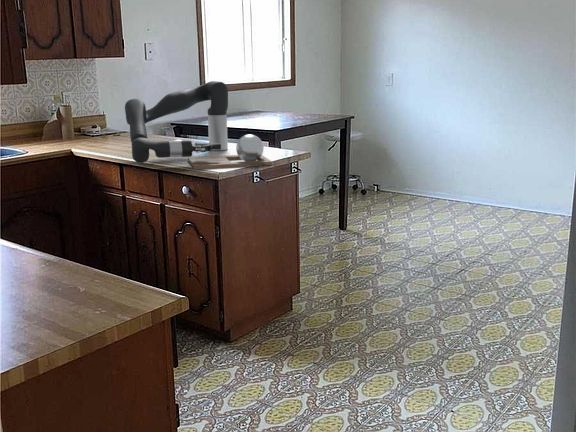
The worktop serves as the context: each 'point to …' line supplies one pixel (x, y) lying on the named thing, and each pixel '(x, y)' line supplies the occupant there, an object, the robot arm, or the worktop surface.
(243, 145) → the ball
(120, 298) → the worktop surface
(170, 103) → the robot arm
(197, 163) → the wooden tray
